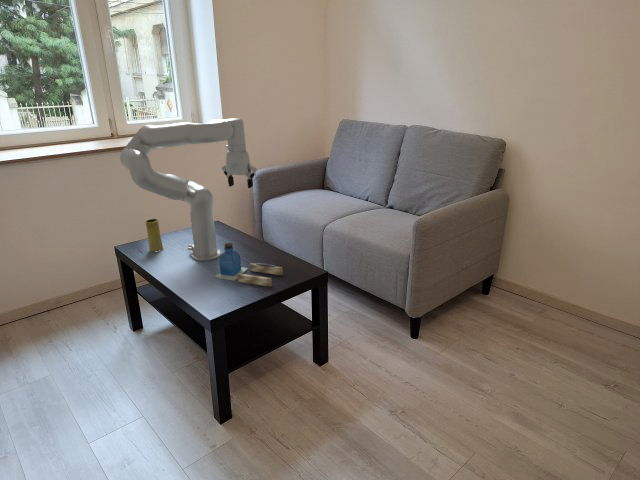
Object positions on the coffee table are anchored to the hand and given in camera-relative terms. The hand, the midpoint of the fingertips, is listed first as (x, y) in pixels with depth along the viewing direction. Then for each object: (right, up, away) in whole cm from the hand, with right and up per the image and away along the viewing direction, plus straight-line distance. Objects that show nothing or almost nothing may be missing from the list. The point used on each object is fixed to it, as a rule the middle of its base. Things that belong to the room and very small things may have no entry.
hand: (240, 186), depth 197 cm
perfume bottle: (-1, -37, -18) cm, 41 cm away
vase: (-40, -28, +7) cm, 50 cm away
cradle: (+12, -39, -22) cm, 46 cm away
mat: (-1, -37, -18) cm, 41 cm away
